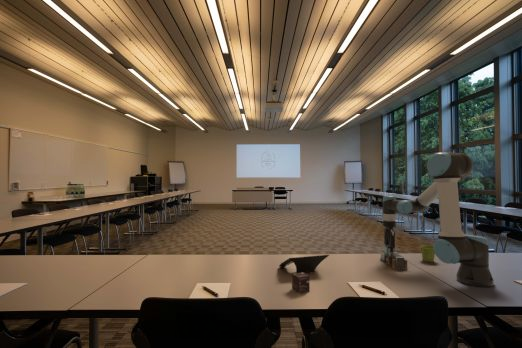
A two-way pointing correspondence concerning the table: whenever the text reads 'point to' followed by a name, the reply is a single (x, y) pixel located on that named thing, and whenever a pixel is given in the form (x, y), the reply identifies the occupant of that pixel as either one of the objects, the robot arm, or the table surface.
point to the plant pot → (427, 253)
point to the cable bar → (397, 260)
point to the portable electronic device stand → (304, 263)
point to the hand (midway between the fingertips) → (389, 257)
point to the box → (300, 282)
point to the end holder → (383, 257)
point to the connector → (387, 251)
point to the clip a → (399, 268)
